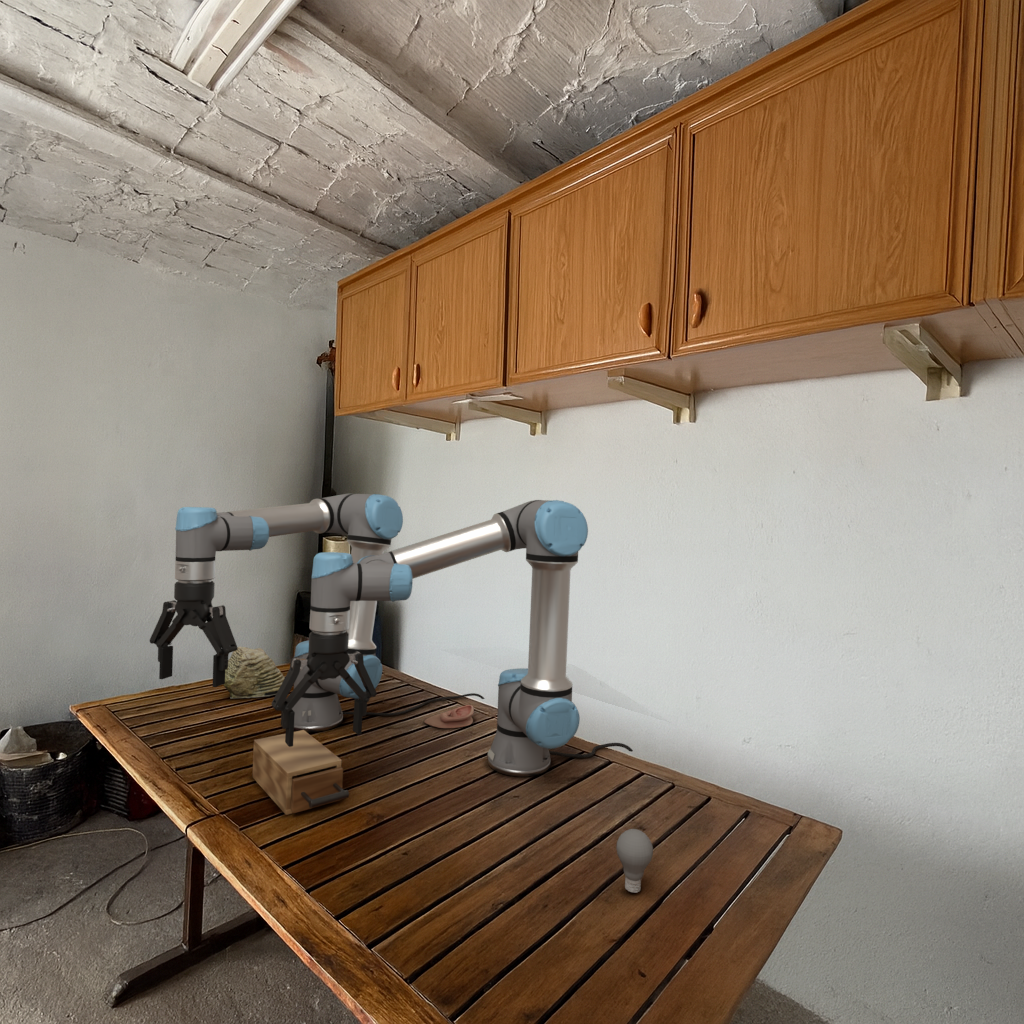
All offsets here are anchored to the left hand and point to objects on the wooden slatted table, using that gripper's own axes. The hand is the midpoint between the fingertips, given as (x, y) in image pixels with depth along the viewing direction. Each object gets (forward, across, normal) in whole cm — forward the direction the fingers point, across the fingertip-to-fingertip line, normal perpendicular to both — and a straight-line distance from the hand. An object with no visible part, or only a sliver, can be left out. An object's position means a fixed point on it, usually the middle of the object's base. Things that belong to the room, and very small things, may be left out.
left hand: (191, 681), depth 133 cm
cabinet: (+23, +19, +9) cm, 32 cm away
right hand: (+8, +32, +1) cm, 33 cm away
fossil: (+24, -30, +58) cm, 70 cm away
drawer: (+22, +24, +6) cm, 33 cm away
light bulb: (+24, +93, -2) cm, 96 cm away
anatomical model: (+24, +35, +60) cm, 73 cm away
